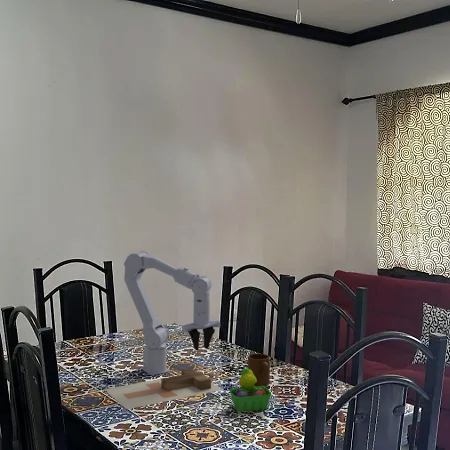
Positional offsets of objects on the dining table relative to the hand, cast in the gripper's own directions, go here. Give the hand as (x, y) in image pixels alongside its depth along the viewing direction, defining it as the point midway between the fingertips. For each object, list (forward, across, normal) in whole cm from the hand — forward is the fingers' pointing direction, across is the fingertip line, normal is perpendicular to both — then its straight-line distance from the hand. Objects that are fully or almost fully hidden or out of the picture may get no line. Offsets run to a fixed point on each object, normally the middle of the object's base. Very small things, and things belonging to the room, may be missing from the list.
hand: (201, 348), depth 203 cm
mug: (+10, +12, -20) cm, 25 cm away
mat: (+10, -18, -7) cm, 22 cm away
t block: (+9, -11, -7) cm, 16 cm away
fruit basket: (+10, -2, -34) cm, 35 cm away
